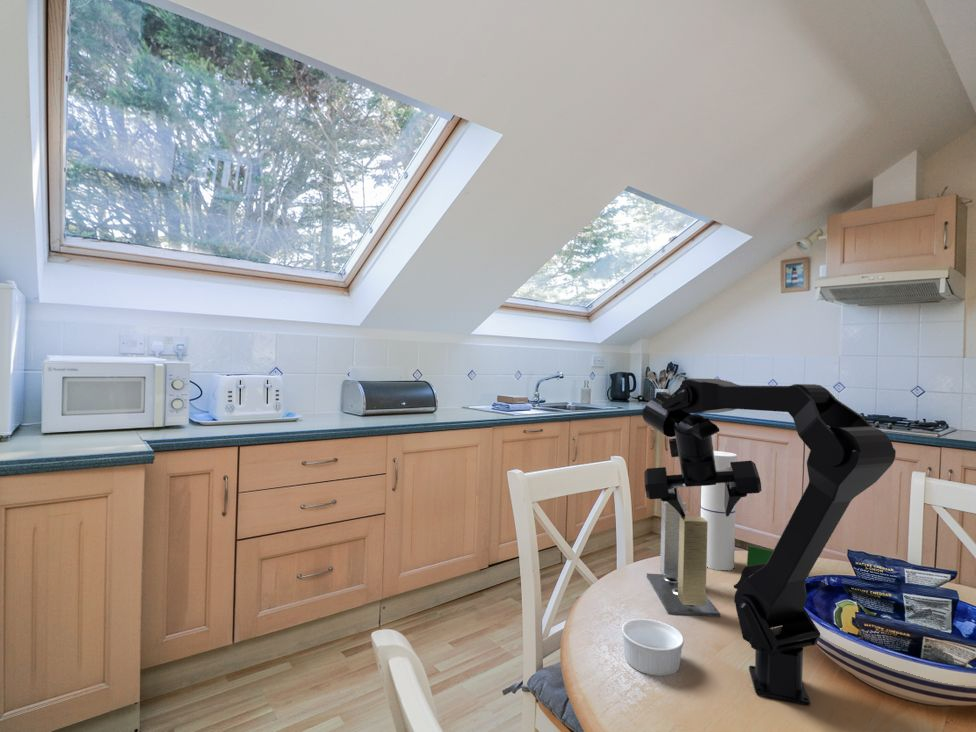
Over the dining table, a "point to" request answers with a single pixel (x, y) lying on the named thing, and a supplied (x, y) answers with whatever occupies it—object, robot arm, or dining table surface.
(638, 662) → the ramekin
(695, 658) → the dining table surface
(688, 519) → the sliding leg
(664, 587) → the bolt plate
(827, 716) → the dining table surface
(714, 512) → the cylindrical container
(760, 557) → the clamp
